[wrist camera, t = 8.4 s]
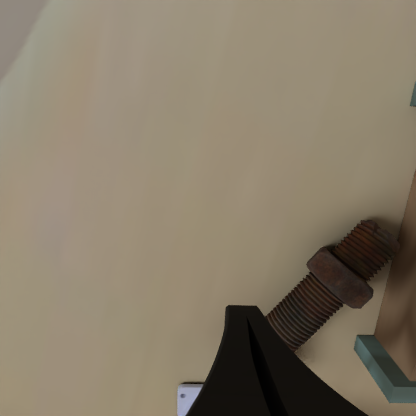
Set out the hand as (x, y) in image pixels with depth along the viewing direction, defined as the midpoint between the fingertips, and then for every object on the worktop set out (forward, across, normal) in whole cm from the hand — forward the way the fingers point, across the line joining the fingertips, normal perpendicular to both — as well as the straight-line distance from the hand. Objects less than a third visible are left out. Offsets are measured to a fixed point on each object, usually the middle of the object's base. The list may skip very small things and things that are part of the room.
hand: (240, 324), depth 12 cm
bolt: (+10, -7, +5) cm, 13 cm away
